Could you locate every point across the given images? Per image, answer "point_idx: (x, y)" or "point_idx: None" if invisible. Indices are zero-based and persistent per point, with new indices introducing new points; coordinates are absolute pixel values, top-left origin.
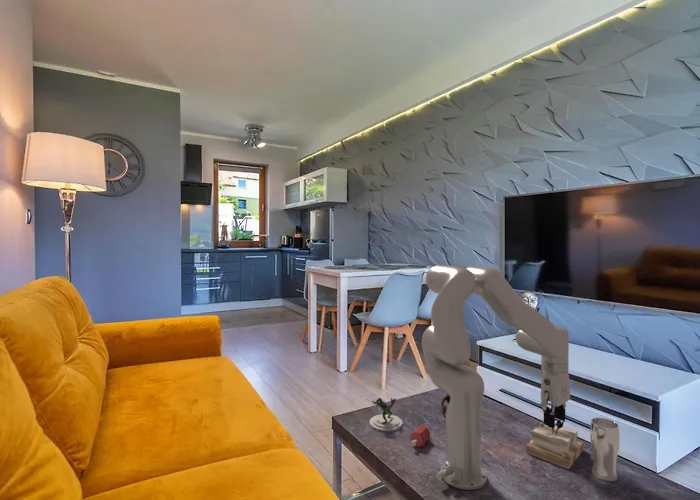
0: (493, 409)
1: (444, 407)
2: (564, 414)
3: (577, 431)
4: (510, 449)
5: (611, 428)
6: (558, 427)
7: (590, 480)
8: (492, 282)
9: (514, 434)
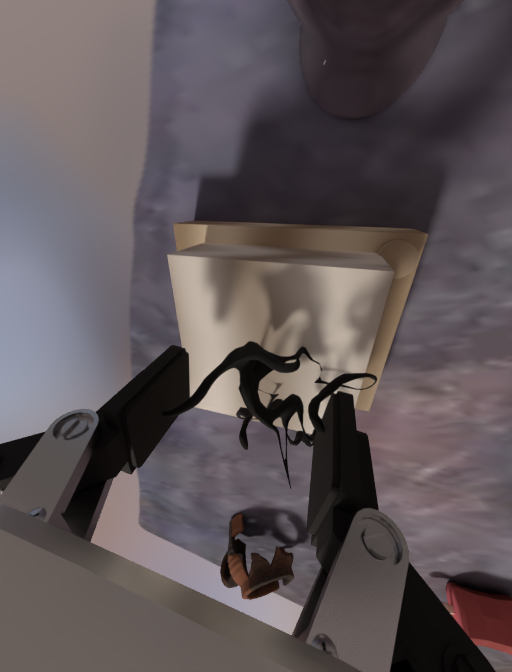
0: (169, 472)
1: (291, 580)
2: (154, 376)
3: (170, 254)
4: (370, 428)
5: None
6: (277, 359)
7: (490, 83)
8: None
9: (260, 426)
